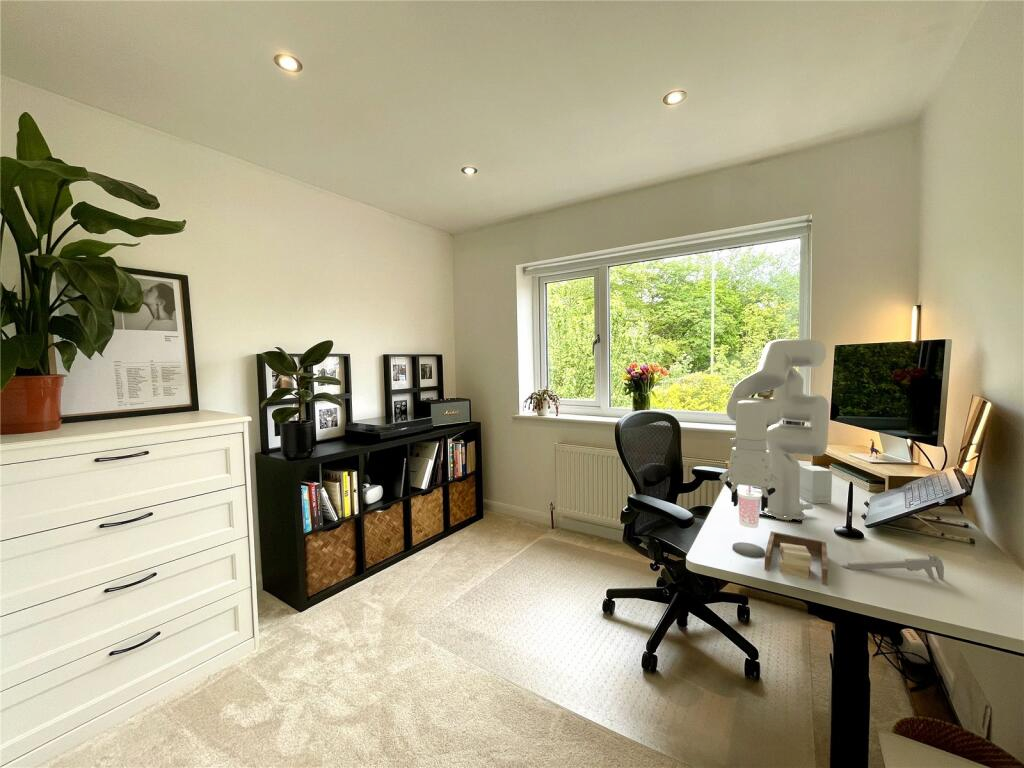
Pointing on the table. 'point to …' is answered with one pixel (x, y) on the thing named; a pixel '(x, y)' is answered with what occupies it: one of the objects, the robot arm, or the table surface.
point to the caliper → (904, 565)
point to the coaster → (748, 549)
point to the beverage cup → (749, 508)
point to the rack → (811, 545)
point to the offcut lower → (795, 570)
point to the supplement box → (815, 484)
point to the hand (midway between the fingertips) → (749, 506)
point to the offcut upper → (795, 555)
